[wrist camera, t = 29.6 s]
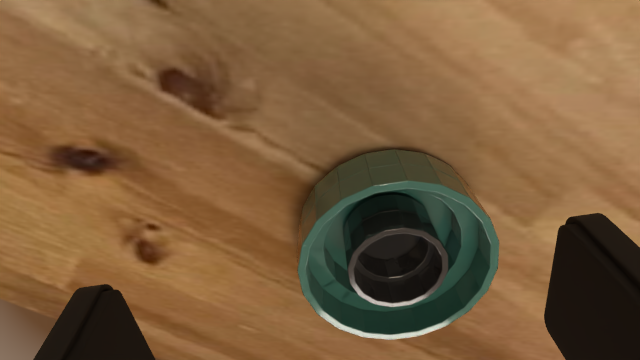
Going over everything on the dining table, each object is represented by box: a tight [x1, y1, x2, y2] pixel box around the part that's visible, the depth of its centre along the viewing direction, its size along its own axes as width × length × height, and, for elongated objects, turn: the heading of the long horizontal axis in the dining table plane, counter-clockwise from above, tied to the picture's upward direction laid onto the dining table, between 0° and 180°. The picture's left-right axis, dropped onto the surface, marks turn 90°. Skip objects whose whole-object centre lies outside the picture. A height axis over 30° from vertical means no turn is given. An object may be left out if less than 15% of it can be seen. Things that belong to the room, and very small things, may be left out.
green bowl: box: [298, 149, 499, 340], centre depth 33 cm, size 14×14×6 cm
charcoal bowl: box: [343, 194, 448, 307], centre depth 33 cm, size 7×7×5 cm
